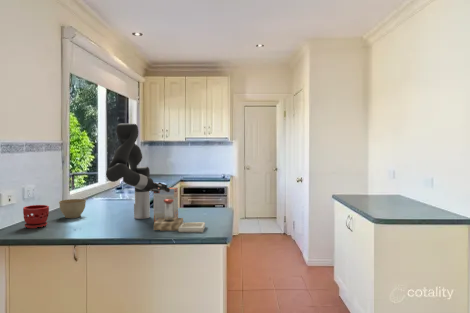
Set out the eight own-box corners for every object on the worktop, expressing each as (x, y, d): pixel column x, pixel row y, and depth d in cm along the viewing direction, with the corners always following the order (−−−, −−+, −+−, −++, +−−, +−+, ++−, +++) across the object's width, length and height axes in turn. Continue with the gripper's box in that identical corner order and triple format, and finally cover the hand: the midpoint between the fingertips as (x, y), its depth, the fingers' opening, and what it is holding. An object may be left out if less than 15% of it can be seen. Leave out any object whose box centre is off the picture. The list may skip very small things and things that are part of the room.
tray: (178, 232, 190) (178, 227, 189) (182, 226, 203) (182, 222, 202) (202, 232, 189) (202, 227, 189) (205, 226, 202) (205, 222, 202)
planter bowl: (68, 220, 222) (68, 203, 222) (54, 217, 231) (54, 201, 231) (91, 216, 235) (91, 200, 235) (77, 213, 244) (76, 198, 244)
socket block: (153, 230, 194) (153, 223, 194) (159, 224, 208) (159, 218, 208) (179, 230, 194) (178, 223, 194) (183, 224, 208) (183, 217, 208)
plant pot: (19, 230, 198) (19, 208, 197) (28, 225, 211) (28, 205, 210) (45, 228, 200) (44, 207, 200) (52, 223, 213) (51, 204, 213)
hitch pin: (163, 228, 198) (162, 200, 198) (165, 226, 204) (164, 198, 204) (172, 228, 198) (172, 200, 198) (174, 226, 204) (174, 198, 203)
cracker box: (178, 221, 218) (178, 187, 218) (174, 223, 212) (174, 188, 212) (158, 220, 222) (157, 186, 221) (153, 222, 216) (153, 188, 216)
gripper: (152, 174, 182) (174, 183, 194) (134, 176, 189) (155, 185, 202) (150, 188, 179) (171, 196, 191) (131, 190, 187) (153, 197, 199)
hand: (163, 190), depth 197 cm, fingers open, 8 cm apart
